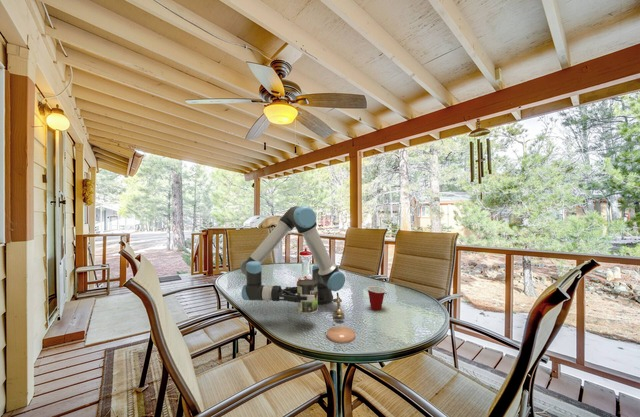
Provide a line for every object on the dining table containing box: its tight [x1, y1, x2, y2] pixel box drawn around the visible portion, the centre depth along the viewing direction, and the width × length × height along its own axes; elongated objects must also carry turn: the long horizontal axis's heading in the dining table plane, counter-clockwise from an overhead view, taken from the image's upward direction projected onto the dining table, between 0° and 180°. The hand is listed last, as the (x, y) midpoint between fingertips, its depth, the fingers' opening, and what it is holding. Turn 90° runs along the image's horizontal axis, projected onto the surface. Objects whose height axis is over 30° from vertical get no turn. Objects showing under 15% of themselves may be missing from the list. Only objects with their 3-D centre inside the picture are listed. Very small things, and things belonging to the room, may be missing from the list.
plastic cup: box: [366, 285, 387, 312], centre depth 152 cm, size 11×11×12 cm
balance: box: [332, 291, 345, 320], centre depth 141 cm, size 17×6×11 cm, turn 1°
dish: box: [326, 325, 356, 344], centre depth 120 cm, size 13×13×2 cm
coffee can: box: [296, 279, 319, 315], centre depth 130 cm, size 10×10×14 cm
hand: (315, 294), depth 130 cm, fingers closed on coffee can, 10 cm apart
